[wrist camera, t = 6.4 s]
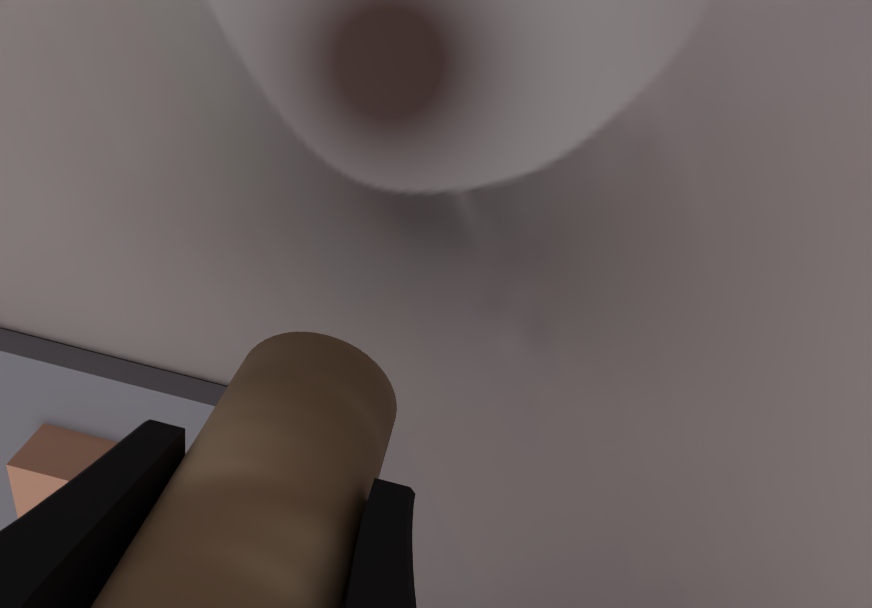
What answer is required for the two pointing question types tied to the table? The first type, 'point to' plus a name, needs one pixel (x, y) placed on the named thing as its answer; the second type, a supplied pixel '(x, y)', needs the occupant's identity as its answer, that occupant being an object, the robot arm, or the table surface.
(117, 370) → the collar stand
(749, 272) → the table surface
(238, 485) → the wood peg
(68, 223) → the table surface
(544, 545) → the table surface
